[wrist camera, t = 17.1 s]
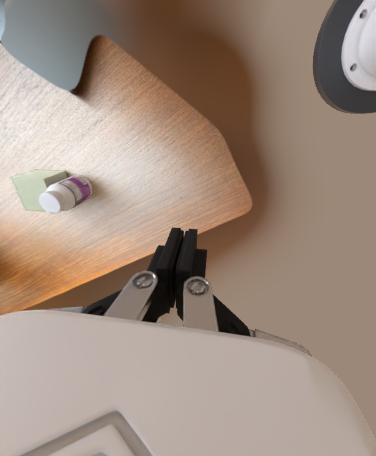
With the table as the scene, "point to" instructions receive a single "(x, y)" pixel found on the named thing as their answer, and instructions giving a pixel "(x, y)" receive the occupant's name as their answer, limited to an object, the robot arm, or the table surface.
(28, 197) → the sage block
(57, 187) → the pill bottle
